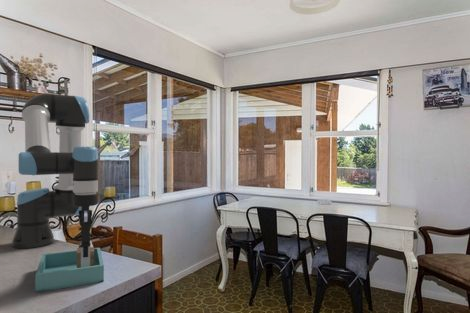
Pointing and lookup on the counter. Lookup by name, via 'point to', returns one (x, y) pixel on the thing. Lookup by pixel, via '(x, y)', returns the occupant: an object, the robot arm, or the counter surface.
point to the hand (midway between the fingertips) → (85, 263)
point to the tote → (67, 271)
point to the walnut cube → (80, 257)
